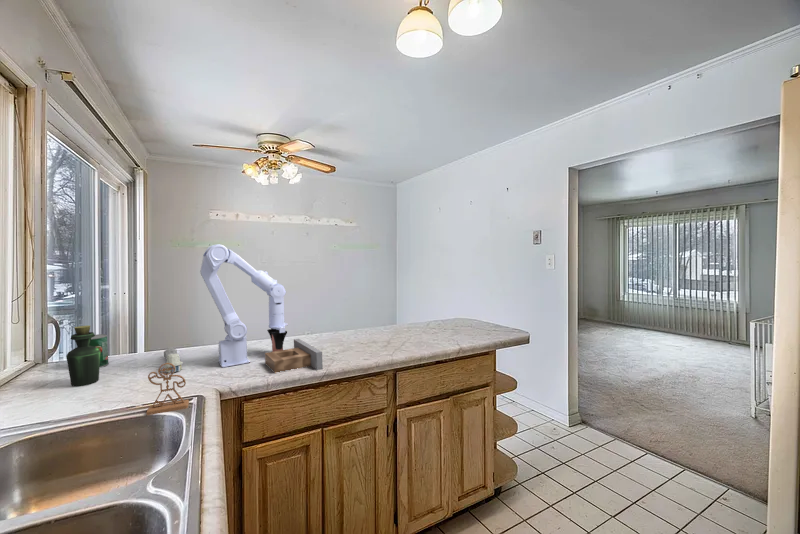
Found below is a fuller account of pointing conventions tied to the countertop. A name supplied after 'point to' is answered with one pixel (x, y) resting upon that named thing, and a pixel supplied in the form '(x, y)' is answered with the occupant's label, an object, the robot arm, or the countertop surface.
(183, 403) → the gingerbread man figurine
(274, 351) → the dowel
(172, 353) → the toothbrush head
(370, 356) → the countertop surface
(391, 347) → the countertop surface
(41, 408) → the countertop surface
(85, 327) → the potion bottle
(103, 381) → the countertop surface
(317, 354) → the wall
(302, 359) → the block
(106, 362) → the canned tomato
